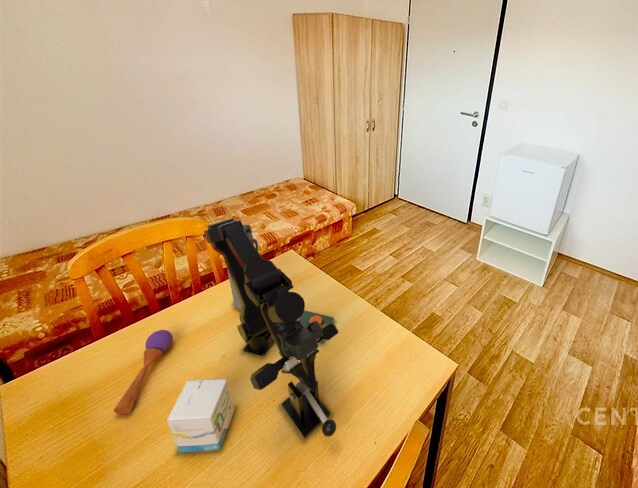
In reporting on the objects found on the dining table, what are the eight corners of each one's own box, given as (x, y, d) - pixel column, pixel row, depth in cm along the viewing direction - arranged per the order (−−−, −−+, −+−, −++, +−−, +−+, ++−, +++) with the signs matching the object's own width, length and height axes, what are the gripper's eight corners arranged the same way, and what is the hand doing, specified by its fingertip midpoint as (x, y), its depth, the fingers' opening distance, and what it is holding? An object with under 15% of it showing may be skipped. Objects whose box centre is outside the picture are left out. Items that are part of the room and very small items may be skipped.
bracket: (330, 416, 75) (328, 387, 71) (304, 440, 71) (301, 411, 66) (307, 386, 81) (304, 358, 76) (281, 406, 76) (277, 378, 72)
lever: (338, 430, 69) (340, 426, 67) (326, 442, 66) (328, 437, 65) (305, 381, 74) (306, 375, 73) (293, 390, 72) (294, 384, 71)
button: (307, 327, 93) (307, 323, 92) (313, 318, 96) (312, 314, 95) (318, 330, 92) (318, 326, 91) (324, 320, 95) (324, 316, 95)
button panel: (291, 336, 94) (290, 327, 92) (304, 315, 101) (304, 306, 99) (322, 344, 92) (322, 335, 90) (334, 322, 100) (333, 313, 98)
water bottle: (241, 288, 109) (227, 219, 97) (270, 288, 111) (260, 220, 99) (229, 312, 100) (213, 238, 88) (262, 311, 102) (250, 238, 89)
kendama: (100, 407, 70) (148, 327, 87) (116, 419, 73) (159, 340, 90) (128, 401, 71) (170, 323, 88) (143, 413, 74) (180, 336, 91)
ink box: (220, 450, 68) (210, 419, 63) (178, 453, 67) (164, 421, 62) (235, 408, 75) (227, 377, 70) (198, 410, 75) (186, 378, 69)
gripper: (249, 349, 57) (286, 431, 56) (332, 296, 70) (365, 361, 68) (236, 350, 65) (268, 422, 64) (313, 302, 78) (342, 361, 76)
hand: (314, 390), depth 68 cm, fingers closed
